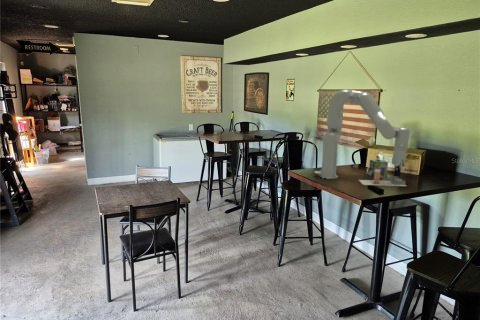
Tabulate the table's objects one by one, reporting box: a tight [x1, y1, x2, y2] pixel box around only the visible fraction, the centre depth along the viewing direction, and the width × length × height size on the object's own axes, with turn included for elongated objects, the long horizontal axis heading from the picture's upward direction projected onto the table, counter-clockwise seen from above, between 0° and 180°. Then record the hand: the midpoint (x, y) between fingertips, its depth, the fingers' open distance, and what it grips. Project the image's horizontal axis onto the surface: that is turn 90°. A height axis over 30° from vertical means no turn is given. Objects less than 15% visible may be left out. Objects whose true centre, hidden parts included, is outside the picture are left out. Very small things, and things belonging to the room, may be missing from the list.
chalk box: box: [368, 155, 389, 179], centre depth 224 cm, size 9×9×15 cm
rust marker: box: [373, 169, 381, 184], centre depth 205 cm, size 3×3×9 cm
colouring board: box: [358, 178, 407, 187], centre depth 207 cm, size 26×12×3 cm, turn 84°
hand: (396, 176), depth 206 cm, fingers closed
